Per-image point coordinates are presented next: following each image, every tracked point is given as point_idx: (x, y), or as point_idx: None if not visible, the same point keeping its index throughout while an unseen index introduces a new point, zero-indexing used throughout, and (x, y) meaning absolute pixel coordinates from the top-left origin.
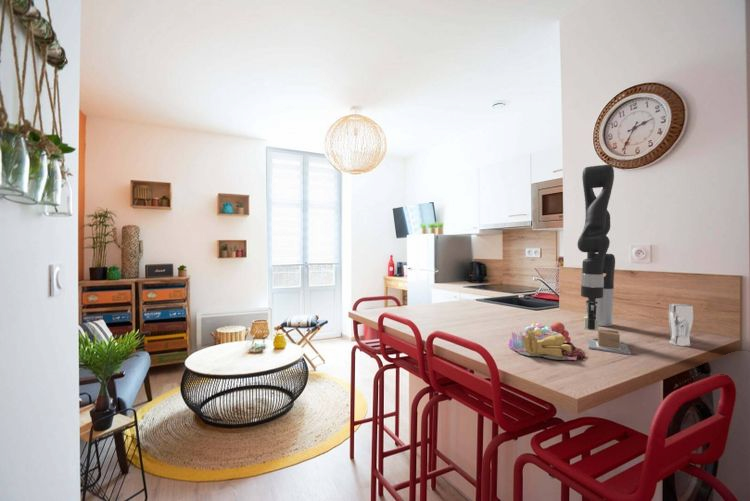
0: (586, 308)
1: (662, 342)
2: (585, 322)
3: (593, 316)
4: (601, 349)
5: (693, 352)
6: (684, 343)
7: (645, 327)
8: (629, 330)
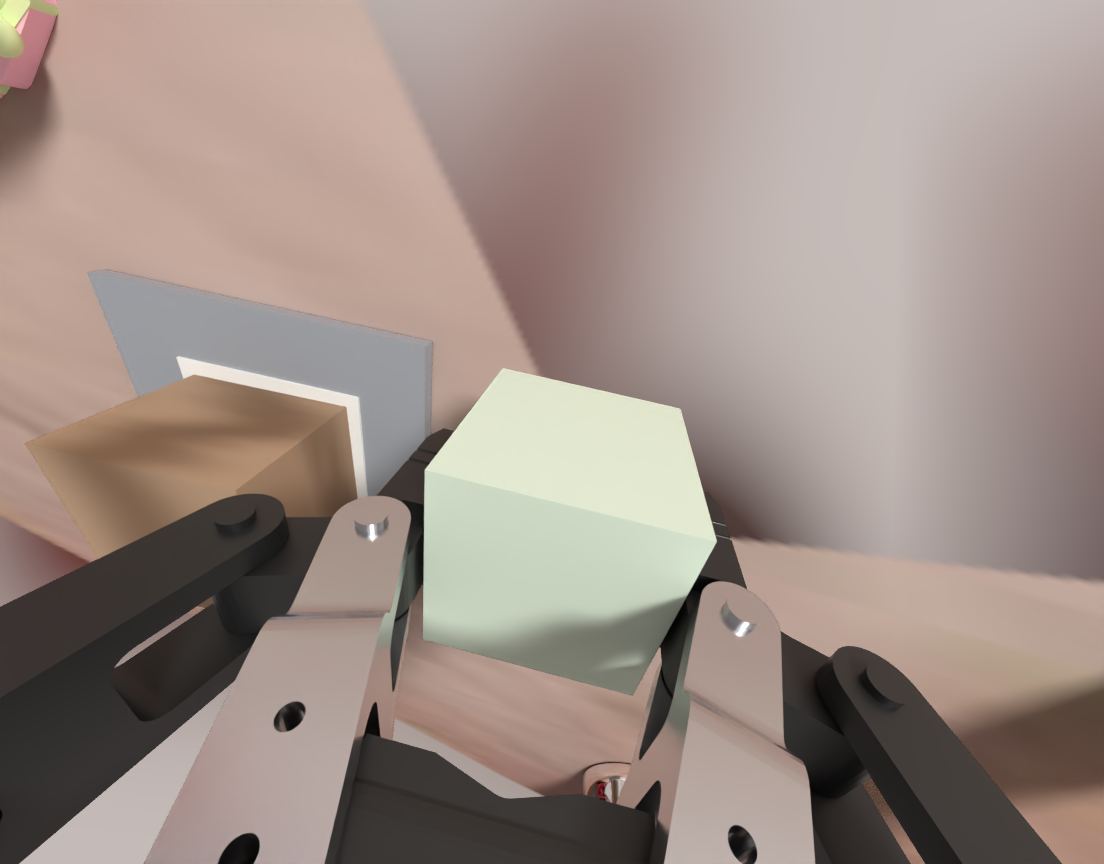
0: (665, 839)
1: (633, 747)
2: (463, 430)
3: (220, 621)
4: (135, 370)
5: (477, 753)
6: (583, 794)
7: (1077, 847)
8: (975, 753)
